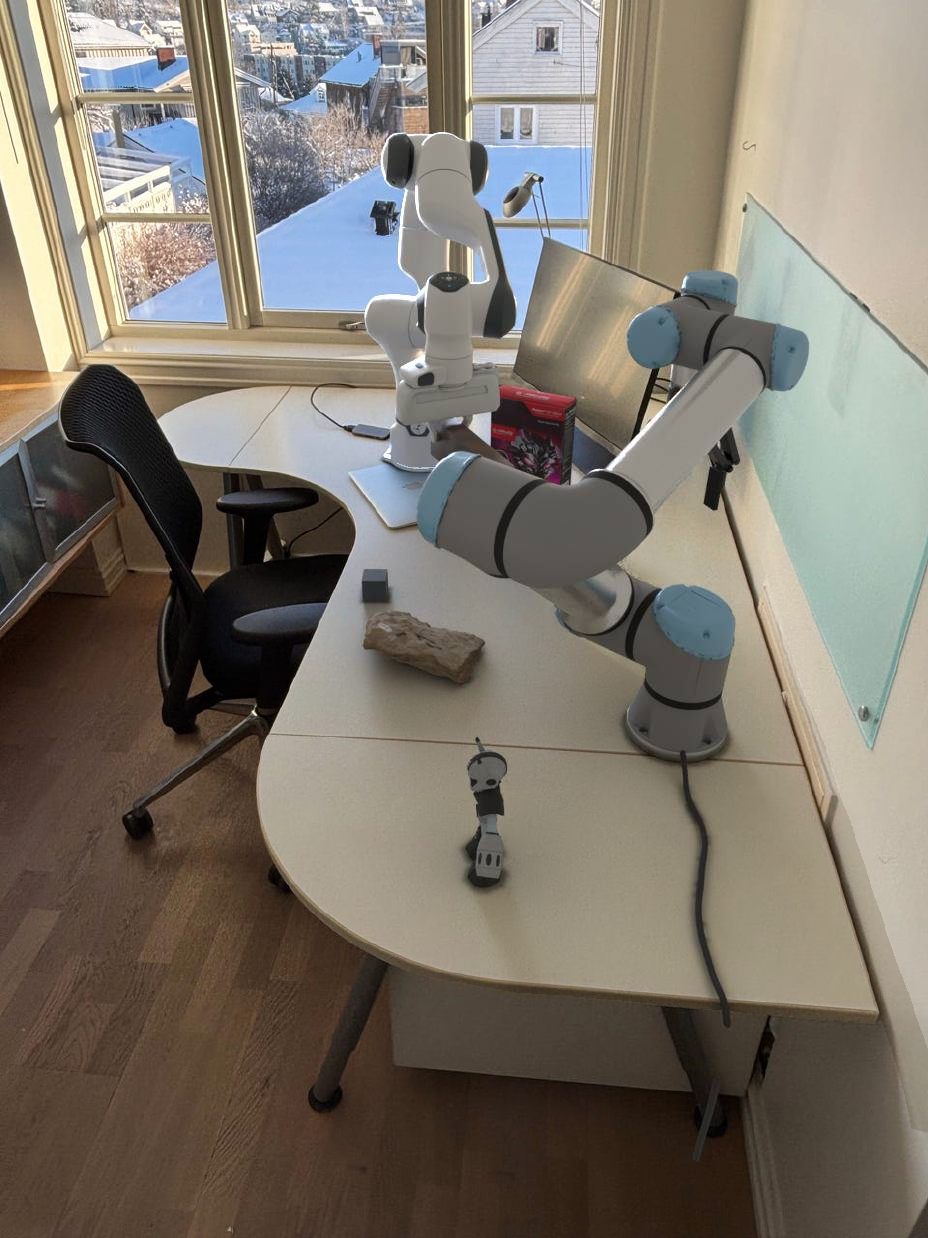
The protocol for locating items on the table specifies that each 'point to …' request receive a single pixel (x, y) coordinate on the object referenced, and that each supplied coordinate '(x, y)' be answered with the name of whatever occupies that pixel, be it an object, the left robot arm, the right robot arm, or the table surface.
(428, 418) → the left robot arm
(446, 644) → the stone
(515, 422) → the graphics card box
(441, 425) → the walnut bar
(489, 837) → the robot
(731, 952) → the table surface
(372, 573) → the slate cube
